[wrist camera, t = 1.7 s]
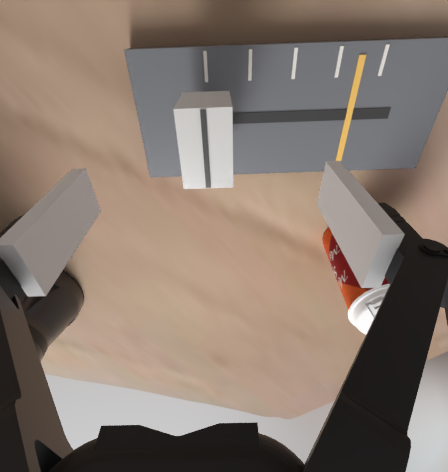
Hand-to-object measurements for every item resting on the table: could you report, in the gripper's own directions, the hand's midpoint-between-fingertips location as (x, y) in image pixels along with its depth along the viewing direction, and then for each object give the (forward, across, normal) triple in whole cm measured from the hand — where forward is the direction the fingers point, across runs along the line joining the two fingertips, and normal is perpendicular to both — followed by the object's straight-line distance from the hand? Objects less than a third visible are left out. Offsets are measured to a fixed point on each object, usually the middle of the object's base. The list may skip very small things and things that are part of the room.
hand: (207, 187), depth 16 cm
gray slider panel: (+17, -8, 0) cm, 19 cm away
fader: (+14, 0, 0) cm, 14 cm away
